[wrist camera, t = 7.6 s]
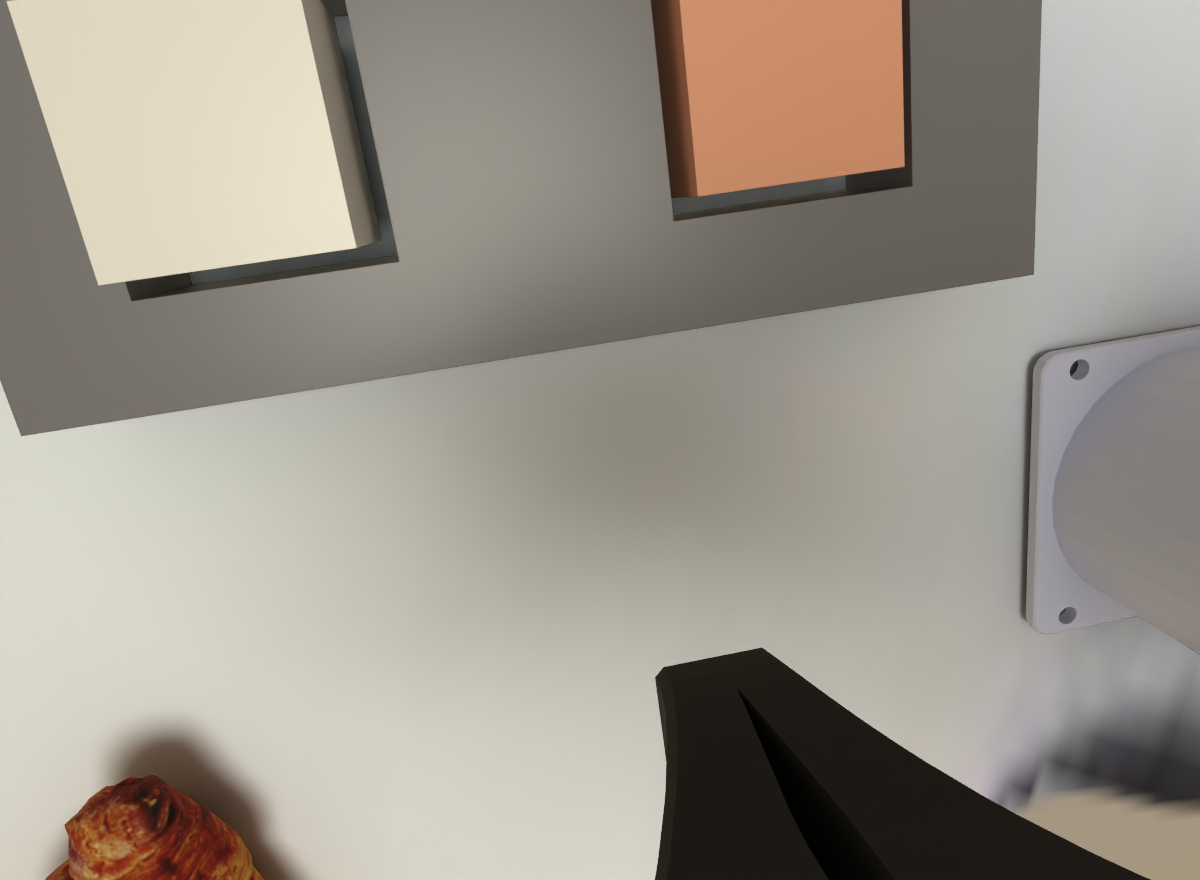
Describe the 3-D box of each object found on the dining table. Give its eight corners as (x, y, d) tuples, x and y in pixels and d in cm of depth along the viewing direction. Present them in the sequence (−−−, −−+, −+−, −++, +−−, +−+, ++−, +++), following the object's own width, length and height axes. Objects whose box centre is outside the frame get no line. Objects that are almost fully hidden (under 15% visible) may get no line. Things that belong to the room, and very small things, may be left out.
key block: (952, -173, 16) (1049, -251, 14) (952, 264, 19) (1033, 274, 16) (-58, -65, 15) (-191, -130, 12) (97, 398, 17) (21, 436, 15)
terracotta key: (829, -28, 16) (900, -77, 14) (838, 173, 18) (904, 166, 15) (642, -5, 16) (674, -50, 13) (664, 198, 17) (697, 196, 14)
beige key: (333, 15, 14) (294, -32, 11) (381, 240, 16) (356, 247, 13) (105, 42, 14) (6, 1, 11) (172, 270, 15) (97, 285, 12)
